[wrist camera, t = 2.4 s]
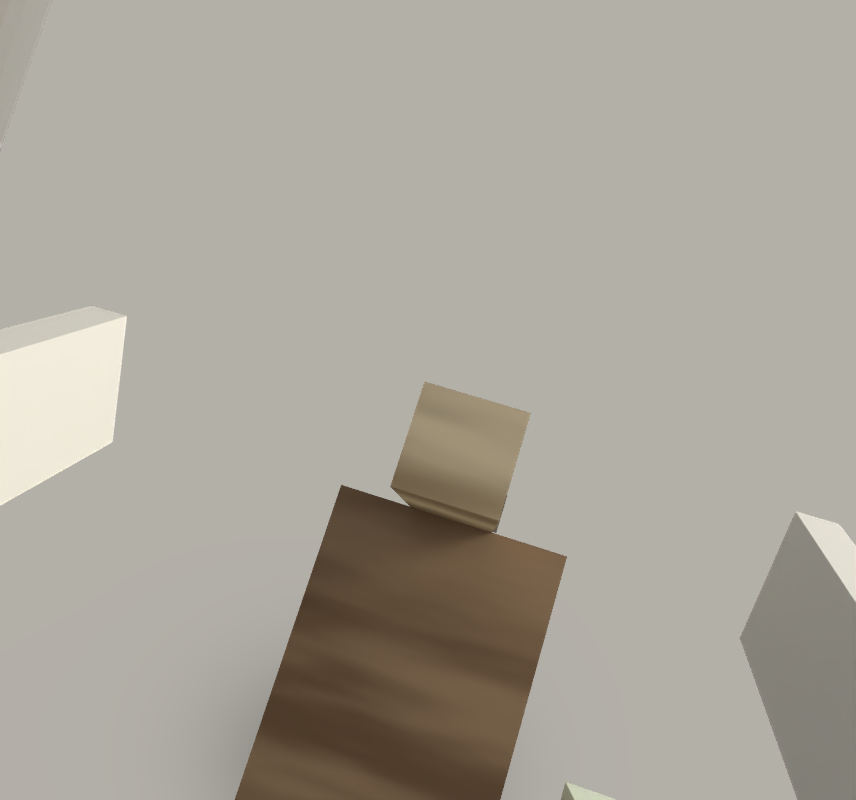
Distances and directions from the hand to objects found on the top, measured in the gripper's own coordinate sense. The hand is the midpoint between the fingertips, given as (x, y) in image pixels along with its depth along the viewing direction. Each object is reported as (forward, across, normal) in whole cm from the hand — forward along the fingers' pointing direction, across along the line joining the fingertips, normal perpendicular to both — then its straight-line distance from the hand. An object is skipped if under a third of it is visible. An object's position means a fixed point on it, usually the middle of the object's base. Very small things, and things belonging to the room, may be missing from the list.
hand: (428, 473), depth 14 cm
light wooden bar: (+17, 0, -10) cm, 20 cm away
